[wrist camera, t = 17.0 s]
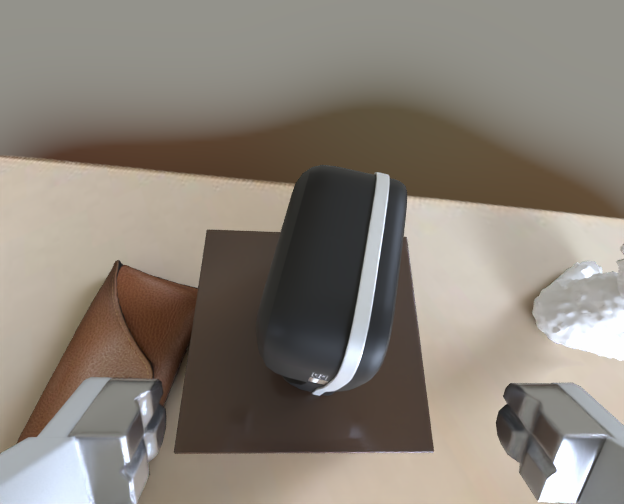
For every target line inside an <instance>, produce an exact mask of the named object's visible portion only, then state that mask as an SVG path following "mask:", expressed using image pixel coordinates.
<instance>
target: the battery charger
mask: <svg viewBox="0 0 624 504" xmlns="http://www.w3.org/2000/svg"><path fill="white" fill-rule="evenodd" d="M406 208H407V190H406V186H405V185H404V184H403V183H401V182H400V181H398V180H395V179H391V178H389V175H388V174H383V173H378V172H376V173H375V174H374V175H373V174H368V173H363V172H359V171H354V170H350V169H346V168H341V167H336V166H328V165H320V166H315V167H312V168H310V169H309V170H307V171H306V172H304V173H303V174H302V175H301V177H300V178H299V179H298V181H297V182H296V184H295V186H294V189H293V192H292V195H291V199H290V202H289V206H288V209H287V212H286V216H285V219H284V223H283V226H282V229H281V233H280V236H279V240H278V243H277V246H276V250H275V253H274V257H273V260H272V264H271V267H270V271H269V274H268V277H267V281H266V284H265V288H264V291H263V295H262V298H261V302H260V305H259V309H258V314H257V320H256V335H257V343H258V350H259V354H260V355H261V357H262V359H263V360H264V363H265V365H266V366H267V367H268V368H269V369H271V370H272V371H273V372H275V373H277V374H279V375H282V377H283V378H284V379H285V380H286V381H287V382H288V383H289V384H291V385H293V386H295V387H297V388H299V389H301V390H305V391H309V392H312V394H314V395H318V396H320V395H321V394H322V395H327V396H329V395H332V394H333V393H335V392H337V391H348V390H351V389H354V388H356V387H358V386H360V385H362V384H364V383H366V382H368V381H369V380H371V379H372V378H373V376H374V375H375V374H376V373H377V372H378V371H379V369H380V367H381V365H382V363H383V361H384V358H385V355H386V352H387V349H388V345H389V341H390V336H391V332H392V325H393V319H394V312H395V304H396V296H397V288H398V279H399V271H400V263H401V255H402V246H403V236H404V227H405V218H406Z"/></svg>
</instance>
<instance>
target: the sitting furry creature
mask: <svg viewBox="0 0 624 504" xmlns="http://www.w3.org/2000/svg"><path fill="white" fill-rule="evenodd" d="M620 250H621V252H622V253H623V254H624V244H623V245H622V246H621V248H620ZM617 264H618V266H619V271H618V273H616V272H613V271H612V272H607V273H603V274H602V268H601V266H598V265H597V264H596V262H594V261H584V262H581V263H578V262H576V263H575V264H574V265H573V266H572V267H571V268H568V269H566V271H565V272H564V273H563V274H562V275H560V276H559V278H557V279H556V280H554V282H553V283H551V285H549V286H547V288H544V289H542V290H541V293H540V295H539V296H538V297H536V298H535V300H534V308H533V311H532V314H533V316H534V318H535V319H536V325H537V327H538V329H540V330H541V331H543V332H544V333H545V335H546V336H547V337H548V339H550V340H552V341H553V342H554V343H556V344H562V345H564V346H565V347H571V348H572V349H580V350H582V351H586V352H587V351H589V352H592V353H594V354H597V355H599V356H606V357H607V358H616V359H618V360H620V361H622V360H624V259H622V260H618V261H617Z"/></svg>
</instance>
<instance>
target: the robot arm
mask: <svg viewBox="0 0 624 504" xmlns="http://www.w3.org/2000/svg"><path fill="white" fill-rule="evenodd" d="M162 396H163V387H162V381H160V380H159V379H147V378H119V377H114V378H108V377H90V378H88V379H86V380H84V381H83V382H82V383H81V384H80V386H79V387H78V388H77V389H76V390H75V392H74V393H73V394H72V395H71V396H70V398H69V399H68V400H67V401H66V402H65V404H64V405H63V406H62V407H61V408H60V410H59V411H58V412H57V413H56V414H55V416H54V417H53V418H52V419H51V420H50V422H49V423H48V424H47V425H46V426H45V428H44V429H43V430H42V431H41V432H40V434H39V435H38V436H37V437H28V438H26V439H24V440H23V441H21V442H19V443H18V444H16V445H14V446H12V447H11V448H9V449H7V450H5V451H4V452H2V453H0V504H137V503H138V500H139V498H140V496H141V493H142V491H143V489H144V486H145V484H146V481H147V479H148V477H149V474H150V473H149V465H148V462H150V461H151V460H152V459H153V458H154V457H156V456H157V455H158V453H159V450H160V448H161V445H162V443H163V438H164V434H165V429H166V411H165V408H164V407H163V406H162V405H161V404H160V403H159V402H160V400H161V398H162ZM503 397H504V399H505V401H506V403H507V404H506V405H505V406H504V407H503V408H502V409H501V410H500V411H499V412H498V416H497V420H496V427H497V435H498V437H499V440H500V443H501V445H502V446H503V448H504V450H505V451H506V453H507V454H508V455H509V456H510V457H512V458H513V459H515V460H516V461H517V462H519V463H520V466H519V473H520V475H521V476H522V478H523V479H524V481H525V482H526V484H527V485H528V487H529V488H530V490H531V492H532V493H533V495H534V496H535V498H536V499H537V501H538V502H565V503H578V504H624V425H622V424H621V423H620V422H619V421H618V420H617V419H616V418H615V417H614V416H613V415H611V414H610V413H609V412H608V411H607V410H606V409H605V408H604V407H603V406H602V405H600V404H599V403H598V402H597V401H596V400H595V399H594V398H593V397H592V396H591V395H589V394H588V393H587V392H586V391H585V390H584V389H583V388H582V387H581V386H579V385H576V384H574V383H510V384H509V385H508V386H507V387H506V389H505V392H504V395H503Z"/></svg>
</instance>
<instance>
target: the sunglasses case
mask: <svg viewBox="0 0 624 504" xmlns="http://www.w3.org/2000/svg"><path fill="white" fill-rule="evenodd" d="M197 293H198V288H195V287H191V286H187V285H182V284H178V283H175V282H171V281H168V280H165V279H162V278H159V277H155V276H152V275H149V274H147V273H144V272H142V271H139V270H137V269H134V268H131V267H129V266H127V265H123V264H122V263H121V262H120V261H119V260H117V261H115V263H114V266H113V268H112V270H111V272H110V273H109V275H108V277H107V278H106V280H105V282H104V283H103V285H102V287H101V288H100V290H99V292H98V293H97V295H96V296H95V298H94V300H93V302H92V303H91V305H90V307H89V309H88V310H87V312H86V314H85V316H84V318H83V319H82V321H81V323H80V325H79V326H78V328H77V330H76V332H75V334H74V336H73V338H72V340H71V341H70V343H69V345H68V347H67V349H66V351H65V353H64V354H63V356H62V358H61V360H60V362H59V364H58V366H57V367H56V369H55V371H54V373H53V375H52V377H51V378H50V380H49V382H48V384H47V386H46V388H45V390H44V391H43V393H42V395H41V397H40V399H39V401H38V403H37V405H36V407H35V409H34V410H33V413H32V414H31V416H30V418H29V420H28V422H27V424H26V426H25V428H24V430H23V432H22V434H21V435H20V437H19V439H18V442H17V444H18V443H19V442H21V441H23V440H24V439H26V438H28V437H37V436H38V435H39V434H40V432H41V431H42V430H43V429H44V428H45V426H46V425H47V424H48V423H49V422H50V420H51V419H52V418H53V417H54V416H55V414H56V413H57V412H58V411H59V410H60V408H61V407H62V406H63V405H64V404H65V402H66V401H67V400H68V399H69V398H70V396H71V395H72V394H73V393H74V392H75V390H76V389H77V388H78V387H79V386H80V384H81V383H82V382H83V381H84V380H86V379H88V378H90V377H108V378H114V377H119V378H147V379H159V380H160V381H162V387H163V396H162V398H161V400H160V402H159V403H160V404H161V405H162V406H164V404H165V402H166V398H167V396H168V393H169V391H170V389H171V386H172V383H173V381H174V378H175V376H176V373H177V371H178V369H179V366H180V363H181V362H182V358H183V356H184V354H185V352H186V349H187V347H188V345H189V342H190V340H191V333H192V327H193V320H194V313H195V306H196V300H197Z"/></svg>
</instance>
